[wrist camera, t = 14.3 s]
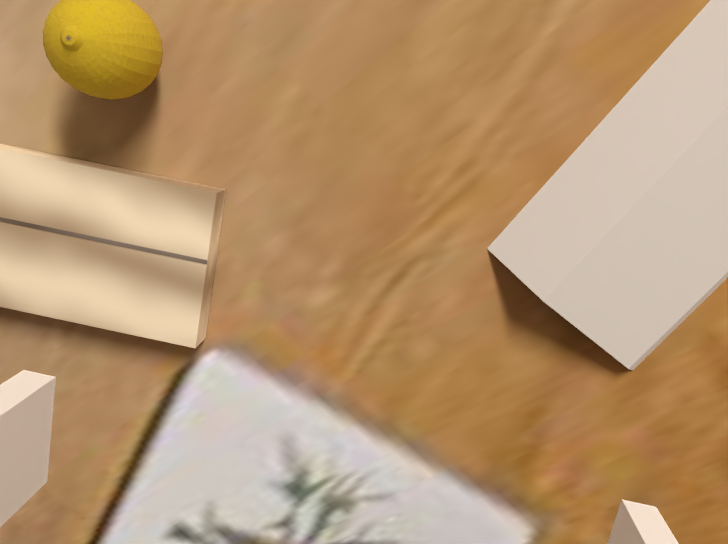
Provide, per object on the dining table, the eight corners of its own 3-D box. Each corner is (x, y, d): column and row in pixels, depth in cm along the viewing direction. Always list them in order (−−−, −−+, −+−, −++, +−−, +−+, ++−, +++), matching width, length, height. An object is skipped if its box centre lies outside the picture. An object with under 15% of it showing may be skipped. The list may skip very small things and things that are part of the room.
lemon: (106, 108, 40) (31, 105, 32) (82, 14, 39) (-1, -12, 31) (191, 92, 39) (135, 85, 32) (170, -4, 38) (107, -35, 31)
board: (205, 338, 43) (195, 348, 41) (-126, 267, 44) (-152, 274, 42) (226, 189, 41) (216, 192, 39) (-125, 117, 41) (-152, 117, 39)
